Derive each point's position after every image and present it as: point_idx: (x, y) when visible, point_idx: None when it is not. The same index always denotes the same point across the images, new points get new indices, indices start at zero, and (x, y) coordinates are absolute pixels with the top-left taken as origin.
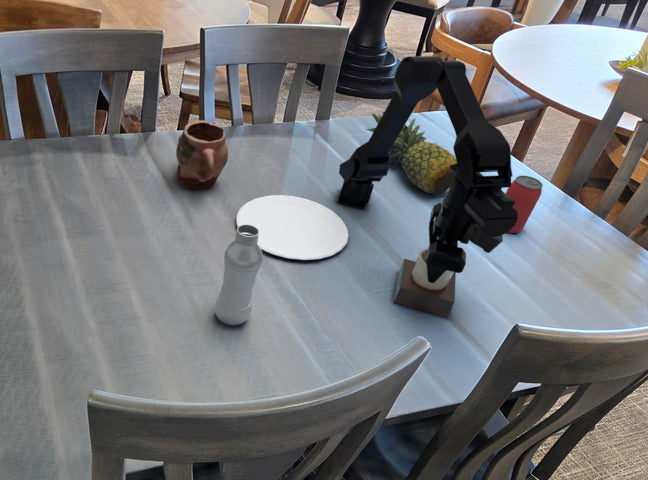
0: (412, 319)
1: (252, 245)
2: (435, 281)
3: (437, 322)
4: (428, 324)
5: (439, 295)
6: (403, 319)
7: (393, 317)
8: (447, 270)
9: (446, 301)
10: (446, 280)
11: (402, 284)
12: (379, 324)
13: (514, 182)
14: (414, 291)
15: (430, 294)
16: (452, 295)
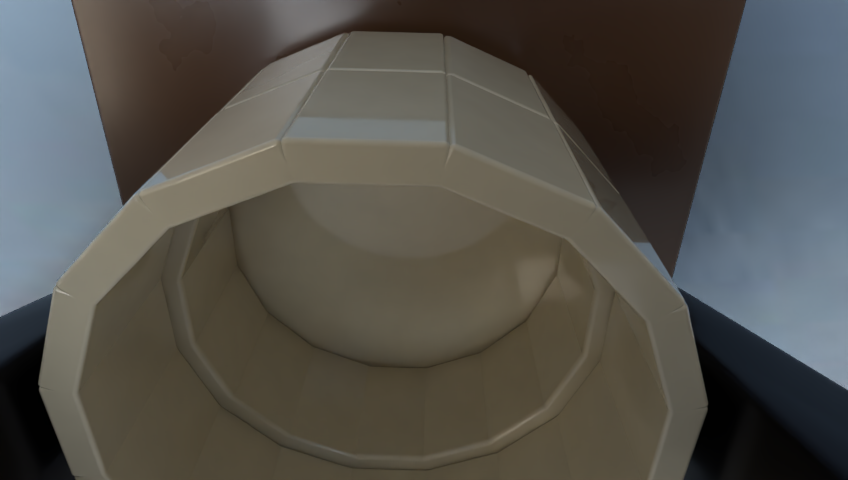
0: (753, 200)
1: None
2: (679, 289)
3: (757, 4)
4: (797, 81)
5: (668, 113)
6: (764, 257)
7: (753, 315)
8: (687, 312)
9: (732, 17)
10: (570, 134)
11: None
12: (841, 381)
13: None
14: None
15: (673, 205)
16: None
